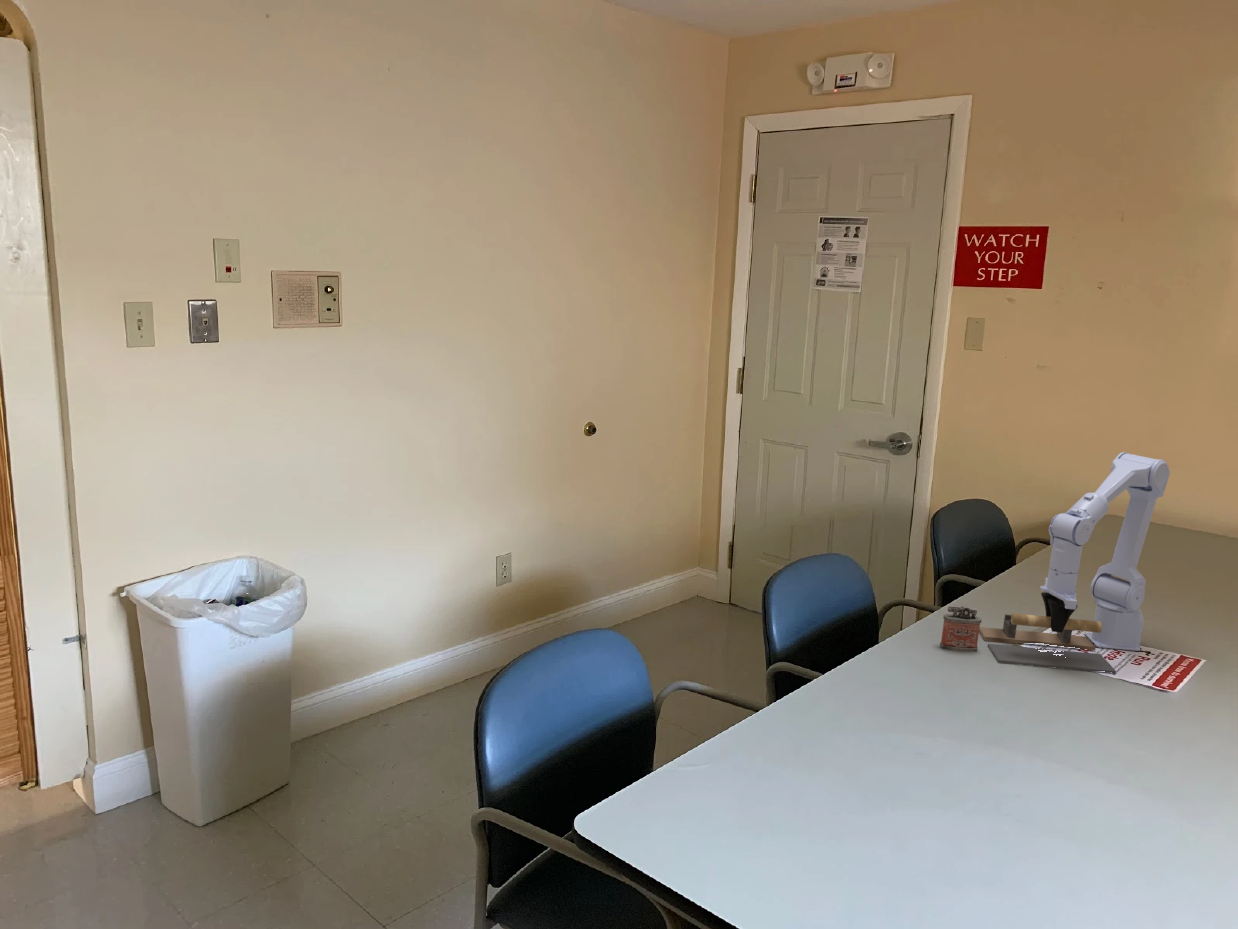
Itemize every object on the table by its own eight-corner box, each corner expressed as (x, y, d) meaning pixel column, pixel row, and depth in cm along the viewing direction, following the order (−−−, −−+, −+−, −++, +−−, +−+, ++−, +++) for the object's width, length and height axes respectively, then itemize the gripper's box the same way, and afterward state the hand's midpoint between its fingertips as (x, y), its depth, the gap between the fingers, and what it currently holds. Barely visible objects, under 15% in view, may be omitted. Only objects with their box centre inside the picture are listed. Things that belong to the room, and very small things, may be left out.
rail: (1096, 629, 197) (1098, 619, 196) (1100, 634, 195) (1102, 624, 194) (1010, 621, 199) (1012, 611, 199) (1013, 626, 197) (1015, 616, 196)
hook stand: (1085, 640, 210) (1088, 620, 209) (1095, 651, 204) (1098, 630, 203) (978, 630, 213) (980, 610, 212) (984, 640, 207) (987, 620, 206)
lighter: (974, 647, 204) (980, 605, 202) (979, 653, 200) (984, 610, 198) (938, 644, 204) (943, 602, 202) (941, 650, 201) (947, 607, 199)
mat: (1100, 656, 201) (1100, 654, 201) (1115, 674, 193) (1116, 671, 192) (987, 646, 204) (988, 643, 204) (998, 662, 196) (998, 660, 196)
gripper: (1034, 557, 202) (1025, 614, 205) (1055, 578, 188) (1045, 640, 190) (1067, 560, 201) (1058, 617, 204) (1091, 581, 187) (1081, 643, 190)
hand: (1054, 628), depth 197 cm, fingers closed on rail, 2 cm apart
